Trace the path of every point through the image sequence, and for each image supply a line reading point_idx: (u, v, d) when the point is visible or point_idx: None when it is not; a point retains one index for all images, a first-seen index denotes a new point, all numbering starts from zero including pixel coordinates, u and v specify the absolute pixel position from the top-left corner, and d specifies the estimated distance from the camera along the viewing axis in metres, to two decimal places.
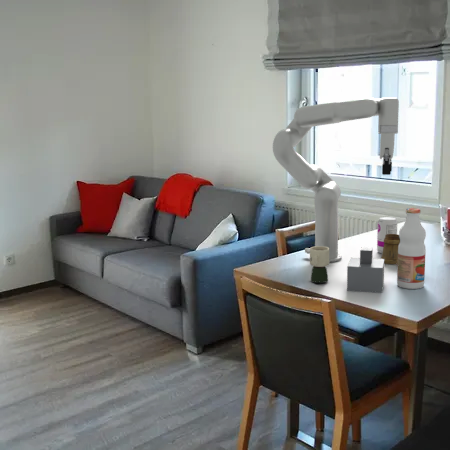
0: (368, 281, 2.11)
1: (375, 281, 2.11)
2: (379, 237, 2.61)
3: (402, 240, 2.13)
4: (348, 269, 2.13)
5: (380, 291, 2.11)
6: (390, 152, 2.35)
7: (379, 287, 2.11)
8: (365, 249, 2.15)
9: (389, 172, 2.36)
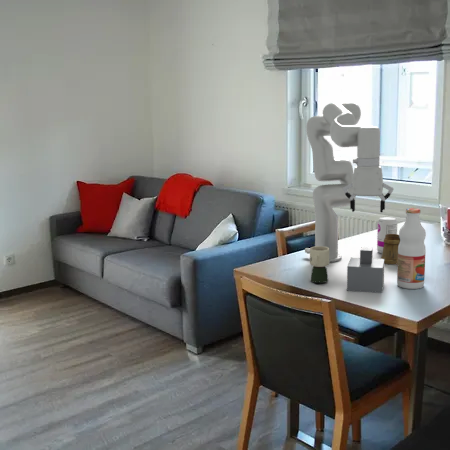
0: (368, 281, 2.11)
1: (375, 281, 2.11)
2: (379, 237, 2.61)
3: (402, 240, 2.13)
4: (348, 269, 2.13)
5: (380, 291, 2.11)
6: None
7: (379, 287, 2.11)
8: (365, 249, 2.15)
9: None
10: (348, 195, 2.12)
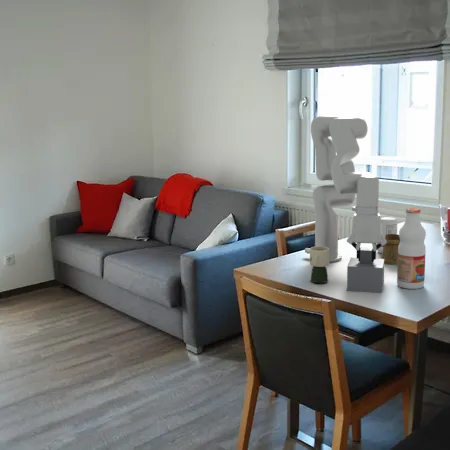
0: (368, 281, 2.11)
1: (375, 281, 2.11)
2: None
3: (402, 240, 2.13)
4: (348, 269, 2.13)
5: (380, 291, 2.11)
6: None
7: (379, 287, 2.11)
8: (365, 249, 2.15)
9: None
10: (354, 245, 2.15)
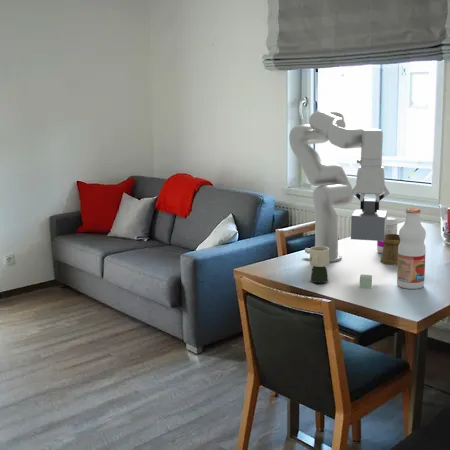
0: (371, 230, 2.23)
1: (377, 230, 2.22)
2: None
3: (402, 240, 2.13)
4: (352, 219, 2.24)
5: (382, 239, 2.22)
6: None
7: (381, 235, 2.22)
8: (369, 200, 2.26)
9: None
10: (358, 196, 2.26)
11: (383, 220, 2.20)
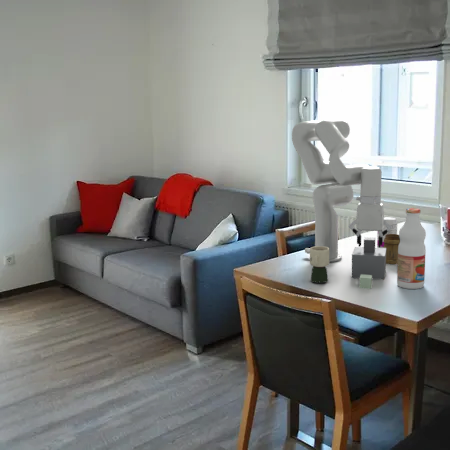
0: (371, 268, 2.26)
1: (378, 268, 2.26)
2: None
3: (402, 240, 2.13)
4: (353, 257, 2.28)
5: (382, 278, 2.26)
6: None
7: (381, 274, 2.26)
8: (368, 239, 2.30)
9: None
10: (355, 231, 2.30)
11: (383, 259, 2.24)
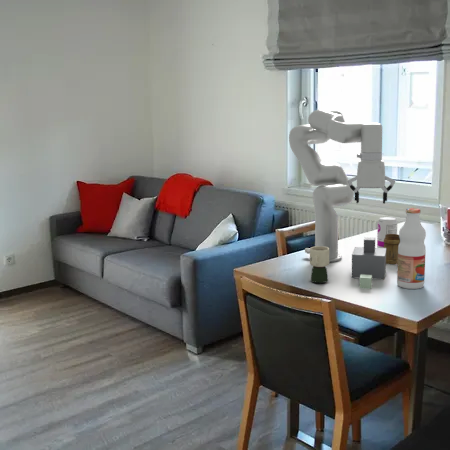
0: (371, 268, 2.26)
1: (378, 268, 2.26)
2: (379, 237, 2.61)
3: (402, 240, 2.13)
4: (353, 257, 2.28)
5: (382, 278, 2.26)
6: None
7: (381, 274, 2.26)
8: (368, 239, 2.30)
9: None
10: (352, 187, 2.26)
11: (383, 259, 2.24)
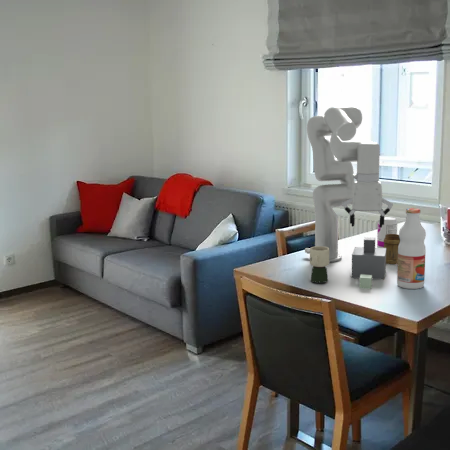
0: (371, 268, 2.26)
1: (378, 268, 2.26)
2: (379, 237, 2.61)
3: (402, 240, 2.13)
4: (353, 257, 2.28)
5: (382, 278, 2.26)
6: None
7: (381, 274, 2.26)
8: (368, 239, 2.30)
9: None
10: (348, 210, 2.13)
11: (383, 259, 2.24)
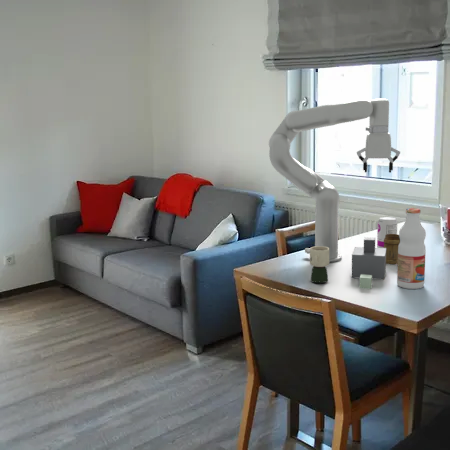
0: (371, 268, 2.26)
1: (378, 268, 2.26)
2: (379, 237, 2.61)
3: (402, 240, 2.13)
4: (353, 257, 2.28)
5: (382, 278, 2.26)
6: None
7: (381, 274, 2.26)
8: (368, 239, 2.30)
9: None
10: (361, 158, 2.48)
11: (383, 259, 2.24)
